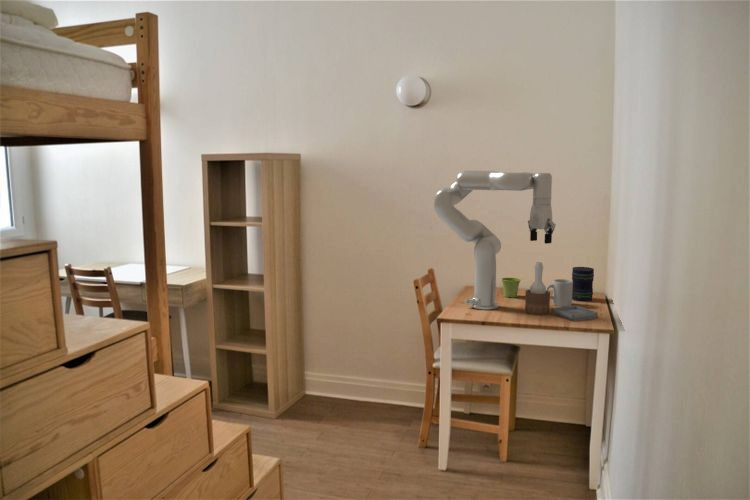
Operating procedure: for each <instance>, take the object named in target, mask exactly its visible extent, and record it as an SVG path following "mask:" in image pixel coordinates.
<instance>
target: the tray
mask: <svg viewBox="0 0 750 500" xmlns="http://www.w3.org/2000/svg"><path fill="white" fill-rule="evenodd" d="M551 314H552V315H555V316H557V317H560V318H562V319H565V320H567V321H571V322H577V321H585V320H592V319H593V320H594V319H598V314H599V312H597V311H595V310H591V309H588V308H586V307H583V306H579V305H571V306H557V307H553V308H551Z"/></svg>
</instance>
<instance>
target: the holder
mask: <svg viewBox="0 0 750 500" xmlns="http://www.w3.org/2000/svg"><path fill="white" fill-rule="evenodd" d="M550 296H551V292H550V291H549V290H548V291H546V294H534V293H530V289H527V290H525V303H524V304H525V305H524V306H525V307H524V312H525V313H526V312H527V313H526V314H528V315H529V314H530V315H534V316H536V315H537V316H545V315H549V314H550V306H551V305H550V303H551V299H550Z"/></svg>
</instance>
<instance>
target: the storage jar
mask: <svg viewBox="0 0 750 500" xmlns="http://www.w3.org/2000/svg"><path fill="white" fill-rule="evenodd" d="M571 270H572V273H571V281H573V288H572V301H574V302H575V301H576V302H585V303H586V302H592V301H593V295H594V288H593V287H594V286H593V283H594V277H595V274H594V271H595V269H594V268H593V267H587V266H575V267H574V266H573V267H572V269H571Z"/></svg>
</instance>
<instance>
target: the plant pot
mask: <svg viewBox="0 0 750 500" xmlns="http://www.w3.org/2000/svg"><path fill="white" fill-rule="evenodd" d="M500 280H501V284H502V289H503V296H504V297H505V298H510V299H512V298H517V297H518V291H519V286H520V283H521V280H522V279H521V278H518V277H502V278H500Z"/></svg>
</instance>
